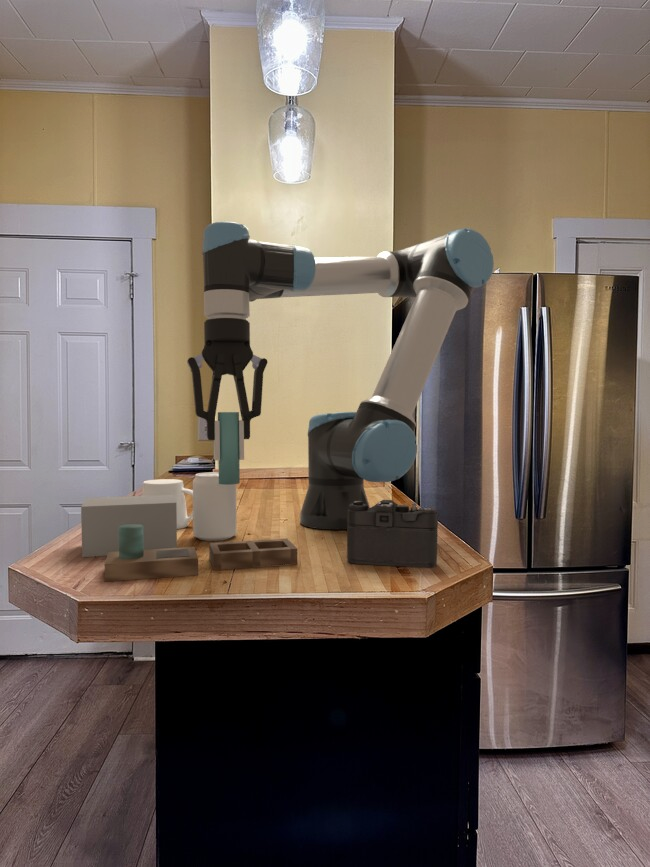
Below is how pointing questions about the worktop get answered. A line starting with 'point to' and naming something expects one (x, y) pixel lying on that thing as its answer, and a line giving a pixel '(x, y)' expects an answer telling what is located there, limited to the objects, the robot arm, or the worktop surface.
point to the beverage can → (213, 508)
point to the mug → (170, 488)
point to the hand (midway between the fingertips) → (228, 459)
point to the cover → (128, 522)
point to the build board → (252, 554)
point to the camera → (392, 535)
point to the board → (147, 558)
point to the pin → (229, 448)
